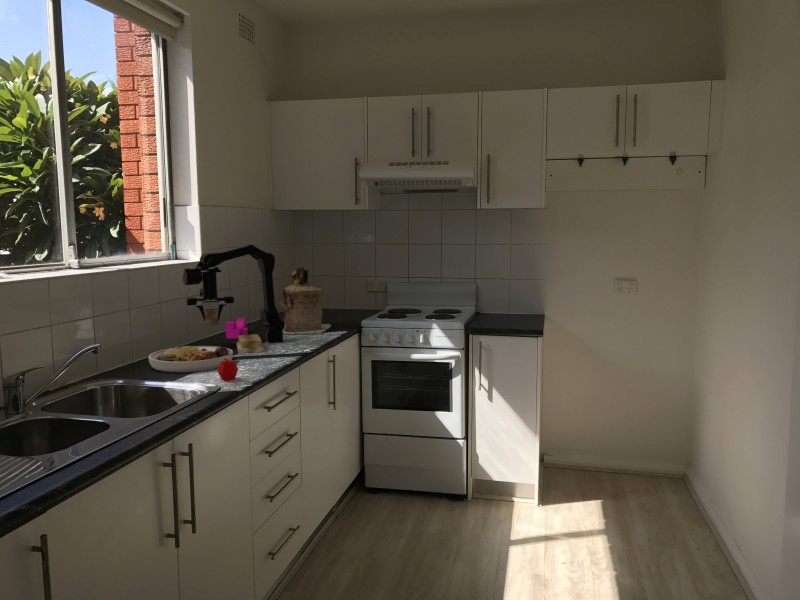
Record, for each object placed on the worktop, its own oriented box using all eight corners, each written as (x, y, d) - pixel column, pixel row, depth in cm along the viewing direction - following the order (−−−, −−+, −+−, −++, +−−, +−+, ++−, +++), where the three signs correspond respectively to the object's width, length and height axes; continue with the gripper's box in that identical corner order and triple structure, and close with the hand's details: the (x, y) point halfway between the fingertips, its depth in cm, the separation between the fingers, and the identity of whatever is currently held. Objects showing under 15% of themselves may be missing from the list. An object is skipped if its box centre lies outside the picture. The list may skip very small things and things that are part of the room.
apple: (213, 383, 223) (212, 360, 222) (222, 379, 230) (221, 356, 229) (233, 384, 222) (232, 361, 221) (241, 379, 229) (241, 356, 228)
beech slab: (260, 347, 291) (260, 340, 290) (264, 355, 274) (264, 347, 273) (236, 348, 288) (236, 341, 287) (239, 356, 271) (238, 349, 270)
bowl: (133, 374, 239) (132, 352, 238) (172, 357, 268) (171, 338, 267) (213, 376, 235) (213, 354, 234) (245, 359, 264) (244, 339, 263)
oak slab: (257, 340, 289) (257, 334, 289) (261, 347, 274) (261, 340, 274) (238, 342, 287) (238, 335, 286) (241, 348, 272) (241, 341, 271)
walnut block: (217, 322, 284) (217, 308, 283) (218, 324, 279) (217, 310, 279) (205, 323, 283) (204, 309, 282) (205, 325, 278) (204, 310, 277)
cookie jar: (332, 327, 339) (331, 264, 335) (321, 335, 314) (320, 267, 311) (284, 326, 341) (282, 263, 337) (270, 335, 317) (268, 267, 313)
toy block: (239, 339, 308) (238, 322, 307) (226, 338, 309) (225, 322, 308) (251, 333, 322) (250, 318, 322) (239, 333, 323) (238, 317, 322)
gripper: (232, 280, 289) (233, 316, 291) (186, 282, 284) (188, 319, 286) (233, 283, 279) (234, 320, 281) (186, 285, 274) (188, 323, 276)
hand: (211, 320), depth 281 cm, fingers closed on walnut block, 5 cm apart
